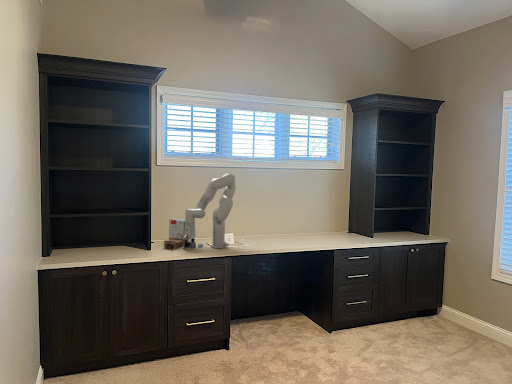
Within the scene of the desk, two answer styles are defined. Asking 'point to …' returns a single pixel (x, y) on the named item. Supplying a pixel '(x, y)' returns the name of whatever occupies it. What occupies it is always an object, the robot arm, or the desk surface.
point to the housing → (190, 245)
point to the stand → (173, 243)
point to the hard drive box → (176, 228)
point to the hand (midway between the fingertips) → (189, 245)
